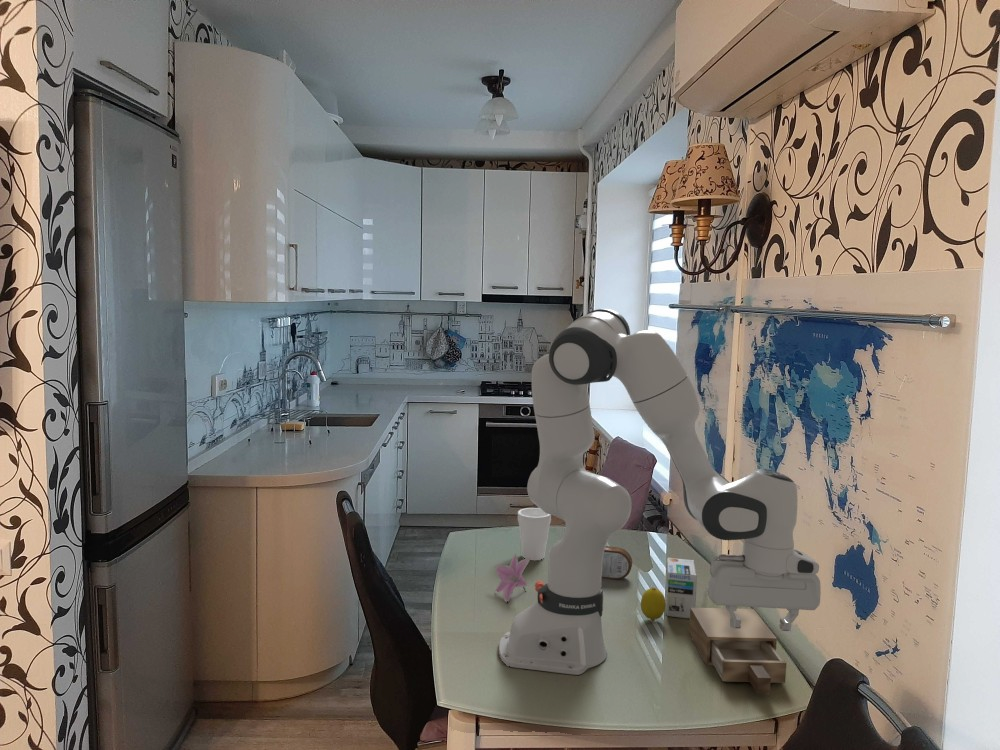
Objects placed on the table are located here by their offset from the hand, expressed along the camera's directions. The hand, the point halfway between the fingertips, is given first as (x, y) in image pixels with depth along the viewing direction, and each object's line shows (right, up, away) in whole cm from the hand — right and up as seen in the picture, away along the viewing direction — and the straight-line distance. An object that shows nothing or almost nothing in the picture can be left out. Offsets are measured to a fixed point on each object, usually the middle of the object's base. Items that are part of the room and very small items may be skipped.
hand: (759, 628), depth 137 cm
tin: (-21, -7, +58) cm, 62 cm away
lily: (-46, -7, +45) cm, 65 cm away
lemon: (-14, -9, +32) cm, 36 cm away
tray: (0, -11, +8) cm, 14 cm away
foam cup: (-39, -5, +72) cm, 82 cm away
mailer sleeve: (0, -11, +19) cm, 22 cm away
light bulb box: (-6, -9, +39) cm, 40 cm away
